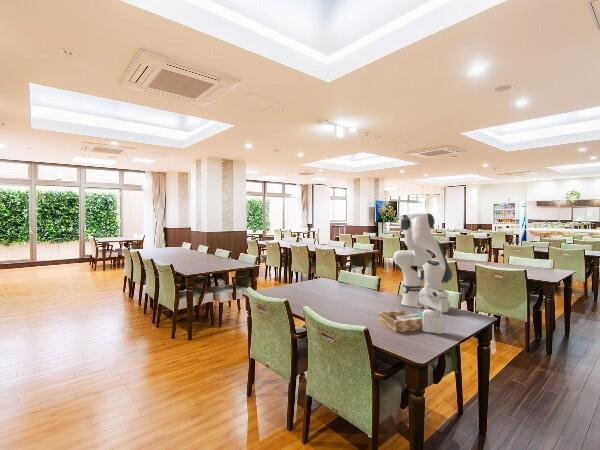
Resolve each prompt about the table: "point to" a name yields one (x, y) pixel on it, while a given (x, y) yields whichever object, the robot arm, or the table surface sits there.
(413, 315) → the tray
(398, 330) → the woven basket
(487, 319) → the table surface
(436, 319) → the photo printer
